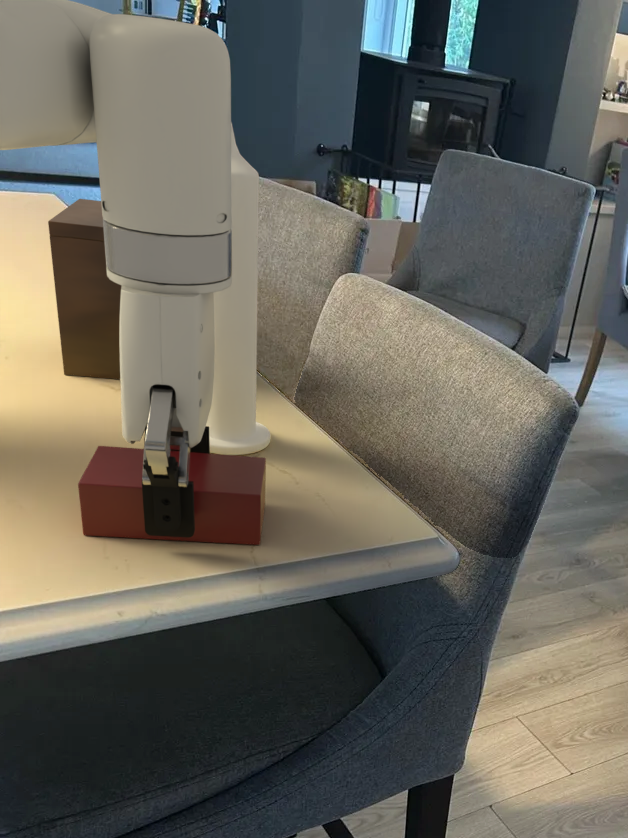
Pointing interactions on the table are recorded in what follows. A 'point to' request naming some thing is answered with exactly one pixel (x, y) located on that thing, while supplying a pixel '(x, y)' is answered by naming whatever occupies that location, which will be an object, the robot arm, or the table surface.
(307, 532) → the table surface
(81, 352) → the brown rectangular block
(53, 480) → the table surface
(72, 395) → the table surface
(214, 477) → the red rectangular block
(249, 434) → the candle
